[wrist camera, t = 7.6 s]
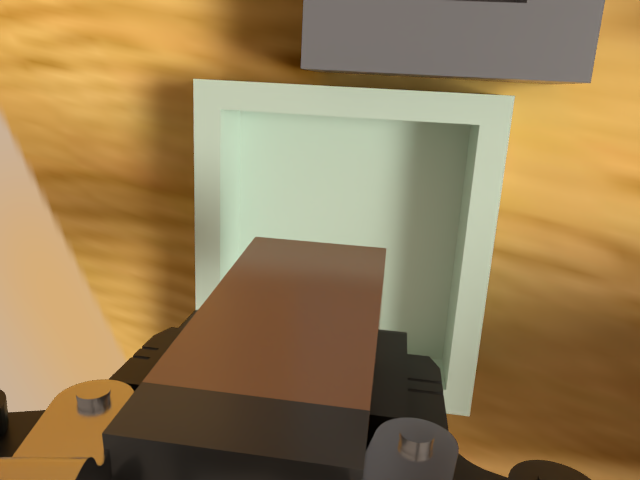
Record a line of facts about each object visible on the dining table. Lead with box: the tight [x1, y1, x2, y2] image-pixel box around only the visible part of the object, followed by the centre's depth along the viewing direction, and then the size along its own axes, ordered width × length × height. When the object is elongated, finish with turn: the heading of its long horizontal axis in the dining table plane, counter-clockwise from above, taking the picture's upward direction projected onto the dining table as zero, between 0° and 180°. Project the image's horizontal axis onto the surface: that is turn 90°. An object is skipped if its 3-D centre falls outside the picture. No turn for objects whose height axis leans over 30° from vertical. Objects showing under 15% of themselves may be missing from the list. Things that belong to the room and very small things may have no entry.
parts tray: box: [193, 79, 515, 416], centre depth 22 cm, size 12×11×3 cm
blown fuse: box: [102, 237, 387, 480], centre depth 12 cm, size 4×4×8 cm
